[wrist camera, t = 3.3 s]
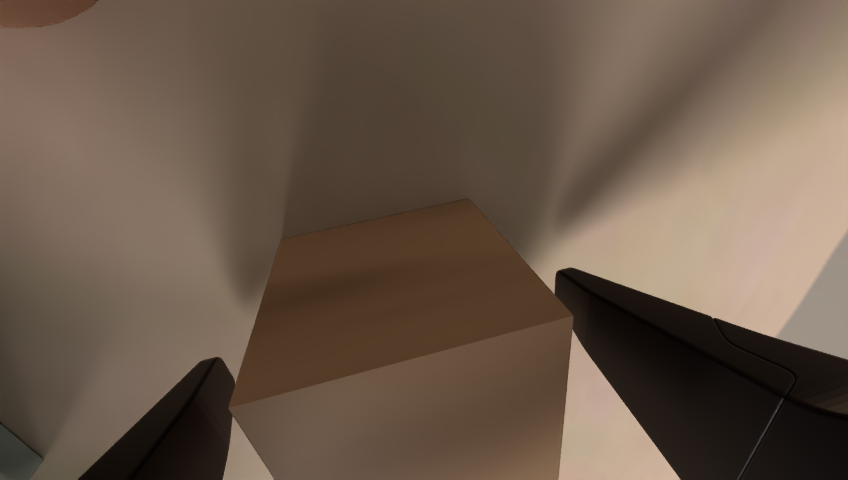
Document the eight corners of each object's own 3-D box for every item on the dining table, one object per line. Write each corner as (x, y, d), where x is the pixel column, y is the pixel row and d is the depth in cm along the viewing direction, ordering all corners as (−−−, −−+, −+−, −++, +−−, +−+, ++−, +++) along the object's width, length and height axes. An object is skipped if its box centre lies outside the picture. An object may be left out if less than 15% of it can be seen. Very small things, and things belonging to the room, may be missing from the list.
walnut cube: (479, 332, 12) (557, 488, 8) (332, 370, 11) (329, 563, 7) (467, 197, 10) (573, 315, 5) (281, 238, 9) (228, 408, 5)
